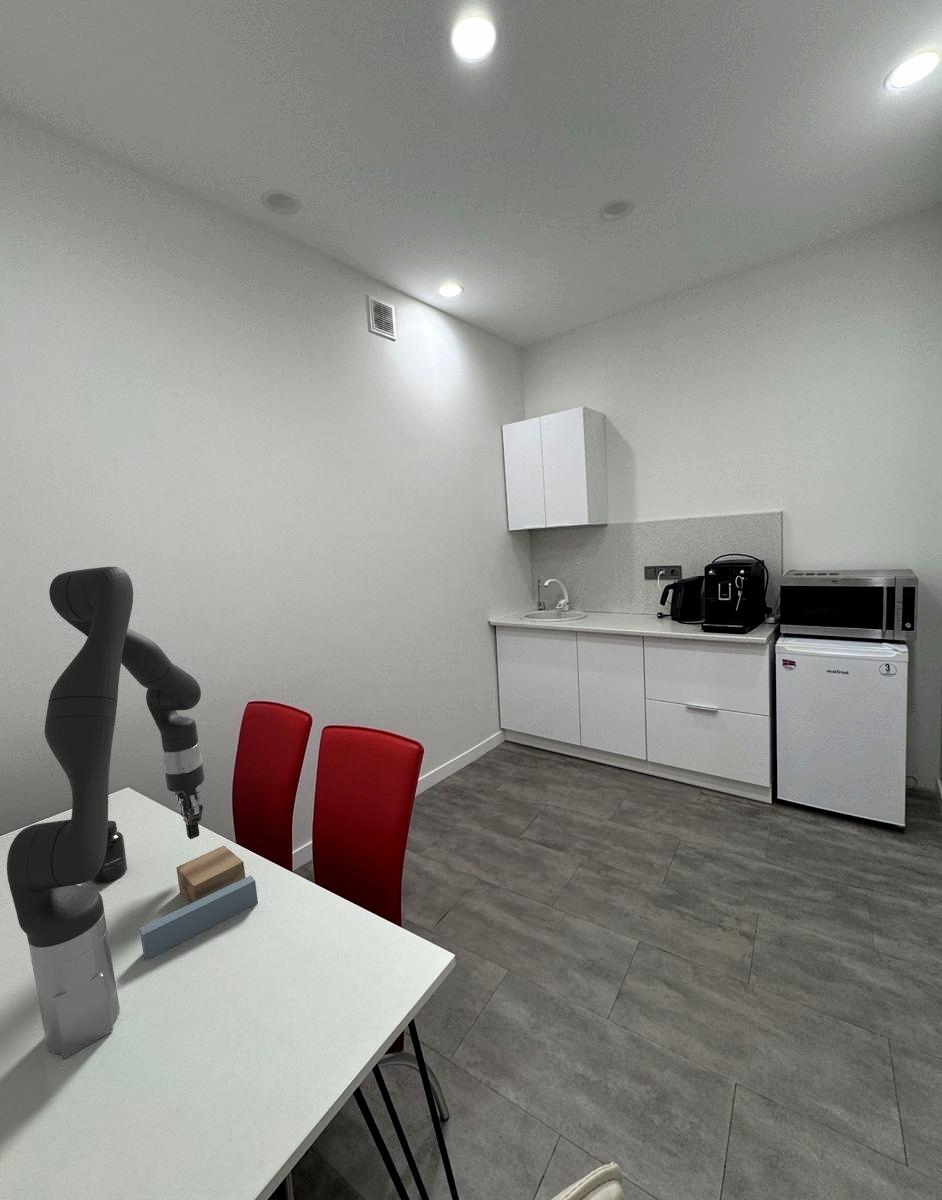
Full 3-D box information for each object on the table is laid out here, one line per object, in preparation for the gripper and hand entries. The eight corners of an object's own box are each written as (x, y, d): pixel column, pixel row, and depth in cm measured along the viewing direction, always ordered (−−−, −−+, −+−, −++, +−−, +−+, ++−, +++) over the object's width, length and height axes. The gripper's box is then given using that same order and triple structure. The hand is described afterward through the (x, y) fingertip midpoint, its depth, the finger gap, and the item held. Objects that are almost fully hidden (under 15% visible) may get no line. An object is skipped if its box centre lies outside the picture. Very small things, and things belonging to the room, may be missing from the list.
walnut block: (246, 887, 113) (243, 861, 113) (197, 913, 106) (194, 886, 105) (227, 869, 120) (223, 845, 119) (180, 893, 113) (176, 867, 112)
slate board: (257, 903, 108) (255, 880, 107) (146, 960, 94) (142, 934, 94) (253, 897, 110) (250, 875, 109) (143, 953, 96) (139, 927, 96)
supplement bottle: (114, 884, 117) (106, 833, 116) (84, 885, 117) (76, 835, 116) (134, 865, 124) (127, 817, 123) (106, 866, 124) (98, 818, 123)
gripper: (157, 762, 121) (167, 832, 123) (173, 780, 111) (184, 856, 113) (192, 751, 126) (202, 819, 128) (210, 767, 116) (220, 840, 118)
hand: (193, 836), depth 121 cm, fingers closed
